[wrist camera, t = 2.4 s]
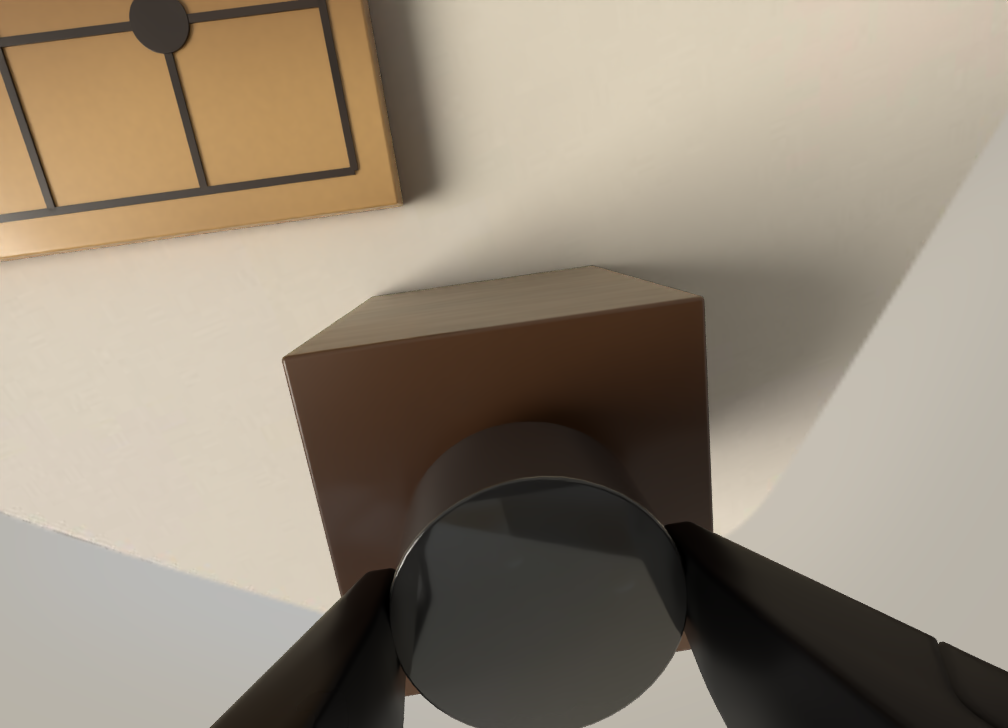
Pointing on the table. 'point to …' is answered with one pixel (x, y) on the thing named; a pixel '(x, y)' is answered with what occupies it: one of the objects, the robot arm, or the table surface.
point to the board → (185, 119)
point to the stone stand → (499, 394)
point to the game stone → (534, 582)
